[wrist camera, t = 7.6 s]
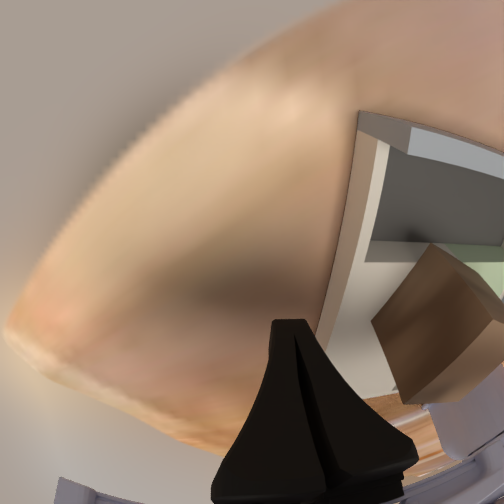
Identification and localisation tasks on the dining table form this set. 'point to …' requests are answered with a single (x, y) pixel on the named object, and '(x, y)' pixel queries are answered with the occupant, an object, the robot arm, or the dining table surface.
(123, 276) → the dining table surface
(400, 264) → the board
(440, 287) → the walnut block
